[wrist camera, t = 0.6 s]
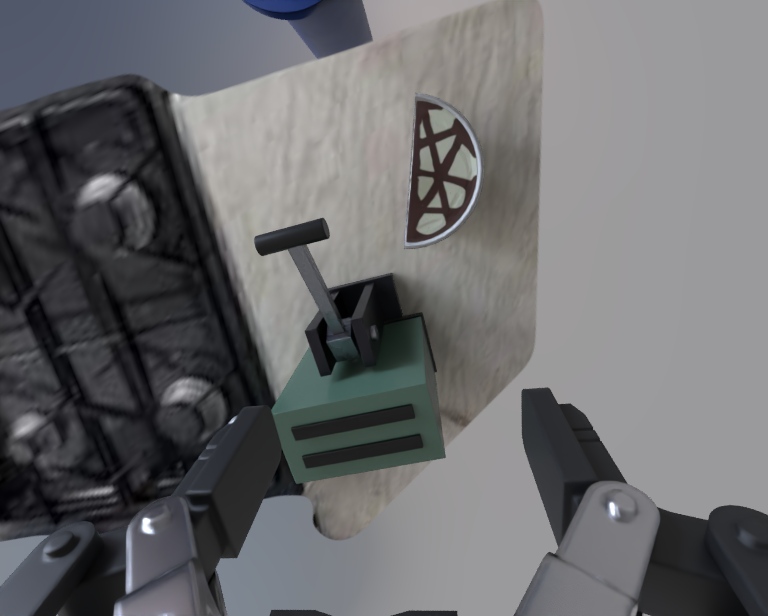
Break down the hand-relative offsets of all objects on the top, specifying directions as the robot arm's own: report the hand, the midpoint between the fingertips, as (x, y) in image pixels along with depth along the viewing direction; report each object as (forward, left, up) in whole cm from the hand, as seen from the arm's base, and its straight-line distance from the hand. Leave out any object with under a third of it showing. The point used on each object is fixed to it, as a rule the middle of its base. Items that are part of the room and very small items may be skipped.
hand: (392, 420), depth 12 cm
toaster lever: (-1, -7, -20) cm, 21 cm away
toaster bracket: (+5, -7, -32) cm, 33 cm away
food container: (-6, +5, -32) cm, 33 cm away
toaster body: (+11, -7, -32) cm, 34 cm away
